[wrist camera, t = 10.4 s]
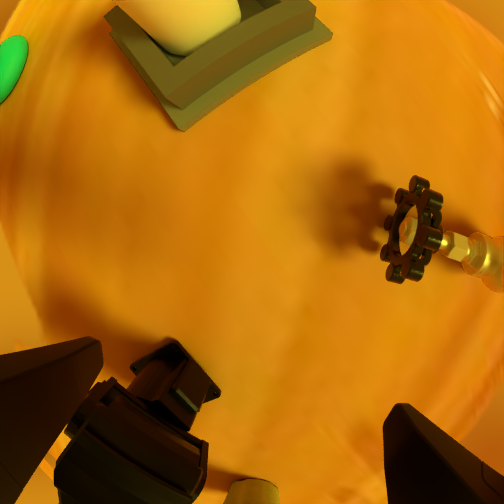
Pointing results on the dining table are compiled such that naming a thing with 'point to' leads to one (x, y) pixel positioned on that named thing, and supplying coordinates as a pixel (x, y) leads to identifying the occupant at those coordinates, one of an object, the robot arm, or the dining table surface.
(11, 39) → the donuts
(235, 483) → the plant pot
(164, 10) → the can
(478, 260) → the valve
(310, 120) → the dining table surface
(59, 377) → the robot arm
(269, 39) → the socket holder
